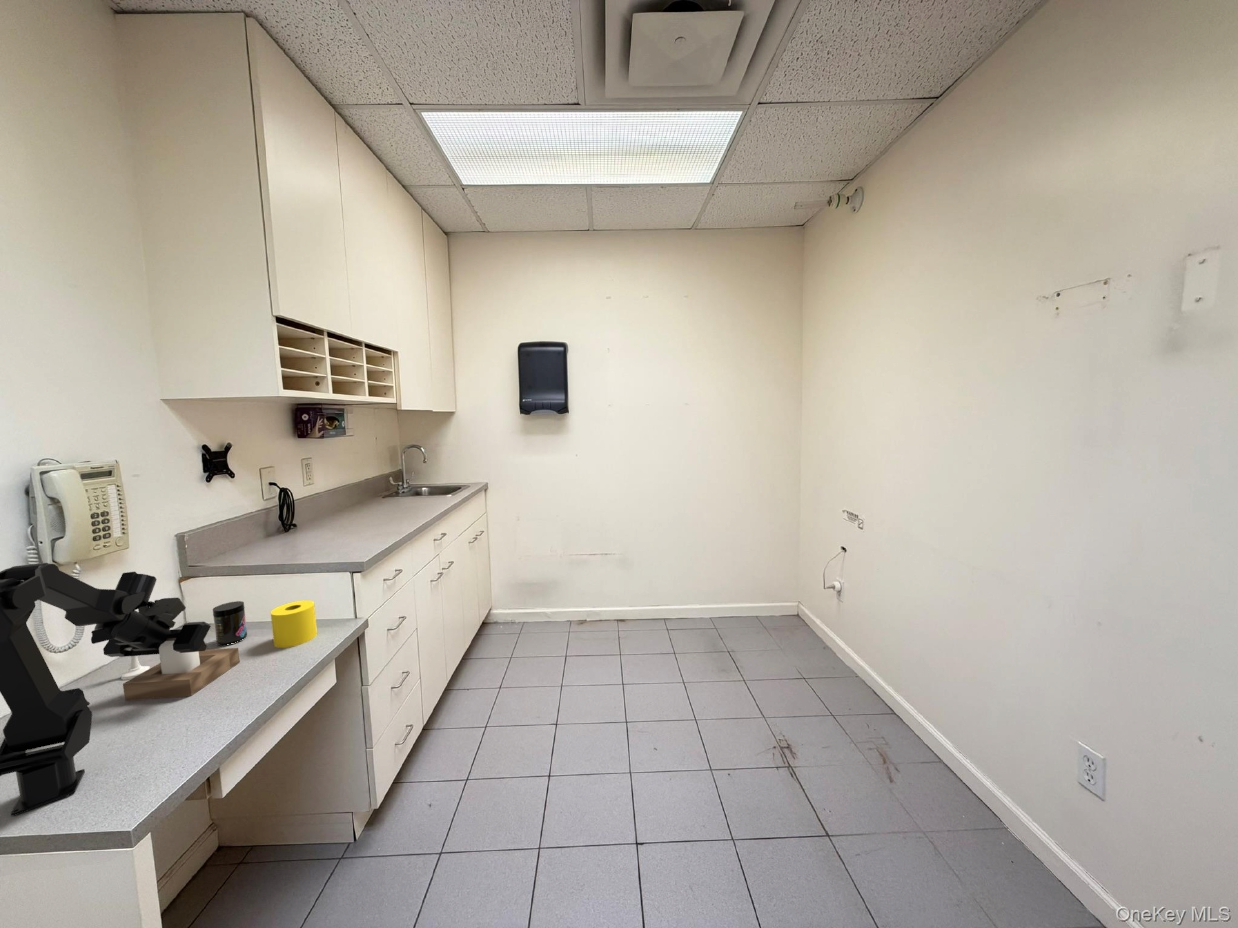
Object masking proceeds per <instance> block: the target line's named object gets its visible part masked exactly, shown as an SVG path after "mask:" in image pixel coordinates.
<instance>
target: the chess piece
mask: <svg viewBox="0 0 1238 928" xmlns="http://www.w3.org/2000/svg"><path fill="white" fill-rule="evenodd" d="M129 664H130V665H129V666H130V668H128V670H127V671H125V672H123V673H122V674H121V680H124V681H125V680H127V681H129V680H131V679H132V678H134V677H136V676H138V675H140V674H141V673H143V672H145V671H147V670H148V669H150V667H151V666H148V665H144V666H143V665H141V663H140V662H139V658H138V656H130V663H129Z"/></svg>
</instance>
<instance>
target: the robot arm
mask: <svg viewBox="0 0 1238 928" xmlns="http://www.w3.org/2000/svg"><path fill="white" fill-rule="evenodd" d="M156 583H157V578H156V577H155V576H154V575H149V574H145V573H137V572H136V571H127V572H123V573H122V574H121V576H120V578H119V579H118V582H117V584H116V586H115V588H114V589H111V588H109V589H108V588H97V587H94V586H92V585H90V584H88V583H86V582H84V581H82V580H80V579H78V578H77V577H74V576H73V575H70V574H68V573H66V572H64V571H62V570H60V569H59V566H58V565H57V564H55V563H48V562H43V563H32V564H24V565H23V564H22V565H15V566H14V565H13V566H11V567H9V568H5V569H3V570H1V571H0V695H1V696H2V699H3V700H4V702H5V703H6V705H7V707H8V708H9V710H10V712H11V714H10V717H8V720H7V722H6V724H5V726H4V727H3V729H2V733H3V736H4V738H3V740H2V742H1V744H0V777H1V776H4V775H8V774H12V773H15V775H16V779H17V780H16V782H17V786H18V791H19V792H18V793H19V799H18V800H17V802H16V803H15V805H14V807H13V808H12V810H11V812H10V816H11V815H14V816H16V815H15V814H17V815H19V814H22V813H25V812H27V810H28V811H31V810H33V809H36V808H39V807H42V806H44V805H47V804H49V803H52V802H55V801H58V800H61V799H63V798H66V797H68V796H71V795H73V794H75V793H76V791H77V790H78V787H79V785H80V783H81V782H82V779H83V777H84V775H85V773H86V770H85V769H84V768H83V769H79V770H77V771H76V766H75V765H76V763H75V758H74V757H75V756H76V755H77V754H78V753H79V752H80V751H81V750H82V749H84V747H86V746H87V745H88V744H89V743H90V739H91V730H92V723H93V713H92V710H91V709H90V707H89V706H90V704H91V703H90V701H88V700H87V699H86V696H85V694H84V691H83V690H82V689H81V688H80V687H76V688H71V689H67V690H61V688H60V687H59V685H58V683H57V682H56V680H55V677H54V676H53V674H52V672H51V670H50V668H49V666H48V663H46V660H45V658H44V656H43V654H42V652H41V650H40V648H39V647H38V645H37V642H36V640H35V639H34V636H33V635H32V633H31V631H30V629H29V627H28V624H27V623H28V621H29V619H30V617H31V615H32V613H33V611H34V610H35V608H36V603H35V602H37V601H40V602H43V603H45V604H47V605H50V606H53V607H55V608H58V609H60V610H63V611H64V612H65V615H64V619H65V620H67V621H68V622H70V623H71V624H72V625H74V626H75V627H84V626H92V625H95V626H94V629H93V630H92V631H91V633H90V634H91V638H90V640H91V644H93V645H95V644H98V643H102V642H106V644H105V645H104V647H103V649H102V650H103V655H105V656H107V657H110V658H113V657H114V658H117V657H118V658H119V657H120V658H122V657H124V658H125V657H131V656H137V657H138V656H139V657H140V656H150V655H159V647H160V645H161V644H163V643H164V642H165V641H174V643H173V650H175V651H177V652H180V653H187V652H199V651H205V650H207V647H208V646H207V644H206V642H205V638H206V636H207V634H208V633H209V630H210V629H211V624H210V623H207V622H206V621H193V622H187V623H185V624H183V625H182V627H181V628H177V629H171V628H174V626H175V624H176V623H177V622H176V621H174V620H175V619H176V618H177V617H178V616H180V614H181V613H182V612H184V611H185V610H186V608H187V607H186V605H185V604H184V603H183V601H182V600H181V598H180V597H165V598H160V599H154V601H152V600H150V598H151V596H152V593H153V591H154V588H155V585H156ZM62 743H63V744H62ZM57 744H59V745H57ZM52 745H55V746H52ZM49 746H51V747H49ZM44 747H46V748H44ZM33 749H37V750H33ZM30 750H33V751H30ZM27 751H28V752H27Z"/></svg>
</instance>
